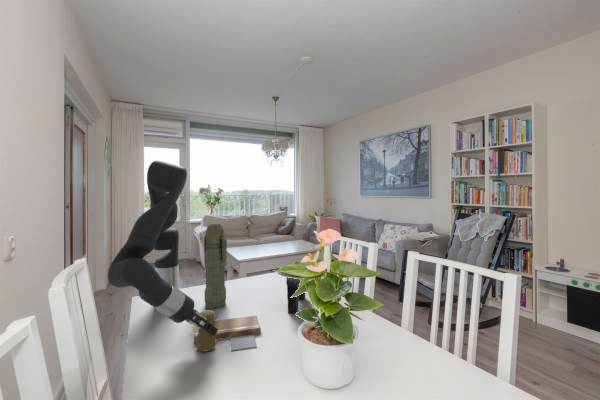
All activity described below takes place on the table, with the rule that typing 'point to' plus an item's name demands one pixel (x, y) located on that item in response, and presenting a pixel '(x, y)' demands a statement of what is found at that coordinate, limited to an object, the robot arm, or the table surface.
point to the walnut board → (234, 327)
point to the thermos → (215, 266)
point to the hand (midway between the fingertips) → (211, 329)
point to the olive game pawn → (206, 334)
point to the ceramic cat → (291, 288)
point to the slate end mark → (242, 342)
